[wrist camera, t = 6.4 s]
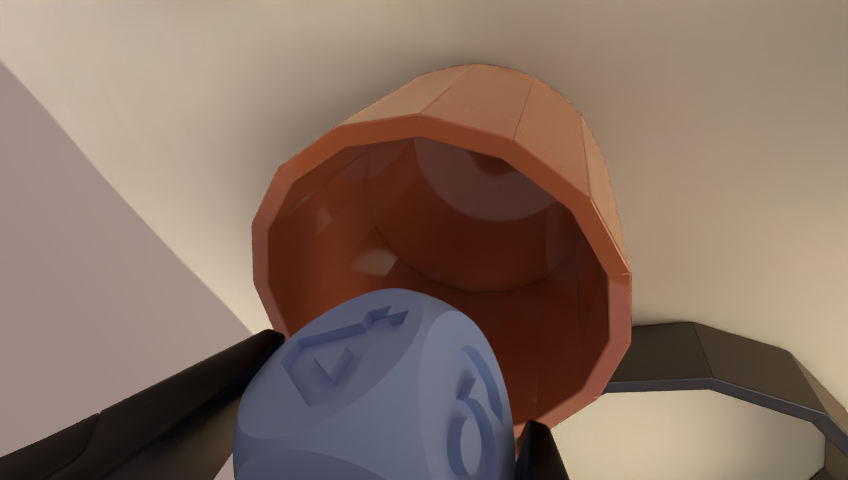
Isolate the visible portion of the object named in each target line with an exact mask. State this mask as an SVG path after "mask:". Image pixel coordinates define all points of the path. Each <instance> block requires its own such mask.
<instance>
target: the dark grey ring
mask: <svg viewBox="0 0 848 480" xmlns="http://www.w3.org/2000/svg"><path fill="white" fill-rule="evenodd" d="M704 389H710V390H713V391H716V392H719V393H722V394H725V395H728V396H731V397H734V398H738V399H741V400H744V401H747V402H750V403H753V404H756V405H759V406H762V407H766V408H769V409H772V410H775V411H778V412H781V413H784V414H787V415H790V416H794V417H797V418H800V419H803V420H806V421H809V422H812V423H813V424H814V425H815V426H816V427H817V428H818V429H819V430H820V431H821V432H822V433H823V434H824V435H825V436H826V455H825V468H823V469H822V470H821V471H820V472H819V473H818V474H817V475H815V476H814V477H813V478H812V479H811V480H848V413H847V411H846V410H845V408H844V407H843V406H842V405H841V404H840V403H839V402H838V401H837V400H836V399H835V398H834V397H833V396H832V395H831V394H830V393H829V392H828V391H827V390H826V389H825V388H824V387H823V386H822V385H821V384H820V383H819V382H818V381H817V380H816V379H815V378H814V377H813V376H812V375H811V374H810V373H809V371H808V370H807V369H806V368H805V367H804V366H803V365H802V364H801V363H800V362H799V361H798V360H797V359H796V358H795V357H794V356H793V355H792V354H791V353H790V352H788V351H786V350H782V349H779V348H776V347H772V346H769V345H766V344H763V343H759V342H756V341H753V340H749V339H746V338H743V337H739V336H736V335H733V334H730V333H726V332H723V331H720V330H716V329H713V328H710V327H707V326H703V325H700V324H697V323H693V322H692V323H691V322H687V323H675V324H663V325H651V326H640V327H632V329H631V343H630V346H629V348H628V349H627V351H626V353H625V355H624V356H623V358H622V360H621V361H620V363H619V365H618V366H617V368H616V370H615V371H614V373H613V375H612V376H611V378H610V380H609V382H608V383H607V385H606V387H605V388H604V390H603V392H602V393H601V395H603V394H605V393H618V392H647V391H676V390H704ZM601 395H600V396H601ZM518 439H519V437H515V447H516V444H517V441H518Z"/></svg>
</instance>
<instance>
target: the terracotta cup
mask: <svg viewBox="0 0 848 480" xmlns="http://www.w3.org/2000/svg"><path fill="white" fill-rule="evenodd" d="M252 255H253V281H254V285H255V287H256V290H257V292H258V294H259V297H260V299H261V301H262V304H263V306H264V308H265V310H266V313H267V315H268V317H269V320H270V322H271V324H272V327H273V329H274V331H277V332H280V333H282V334H284V335H285V342H286V341H287V340H288V339H289V338H290V337H292V336H293V335H294V334H295V333H297V332H298V331H299V330H300V329H302V328H303V327H304V326H306V325H307V324H309V323H310V322H311V321H313V320H314V319H316V318H317V317H319V316H321V315H322V314H324V313H326V312H327V311H329V310H331V309H332V308H334V307H336V306H338V305H340V304H342V303H344V302H346V301H348V300H351V299H353V298H355V297H358V296H361V295H363V294H366V293H370V292H373V291H377V290H383V289H391V288H399V289H406V290H411V291H416V292H419V293H423V294H427V295H429V296H432V297H434V298H437V299H439V300H442V301H444V302H445V303H447V304H449V305H451V306H453V307H454V308H456V309H458V310H459V311H460V312H462V313H463V314H465V315H466V316H467V317H469V318H470V319H471V320H472V321H473V322H474V323H475V324H476V325H477V326H478V327H479V329H480V330H481V332H482V333H483V335H484V336H485V338H486V339H487V341H488V343H489V345H490V347H491V349H492V351H493V353H494V355H495V357H496V360H497V362H498V365H499V368H500V371H501V373H502V377H503V380H504V383H505V387H506V390H507V395H508V399H509V404H510V408H511V414H512V421H513V428H514V438H515V437H520V435H521V433H522V430H523V428H524V426H525V424H526V422H527V421H528V420H534V421H537V422H540V423H543V424H546V425H547V426H548V427H549V429H551V428H553V427H554V426H556V425H557V424H559V423H561V422H562V421H564V420H565V419H567V418H568V417H570V416H572V415H573V414H575V413H576V412H578V411H579V410H581V409H583V408H584V407H586V406H587V405H589V404H590V403H592V402H594V401H595V400H597V399H598V397H600V395H601V393H602V392H603V390H604V388H605V387H606V385H607V383H608V382H609V380H610V378H611V376H612V375H613V373H614V371H615V370H616V368H617V366H618V365H619V363H620V361H621V360H622V358H623V356H624V355H625V353H626V351H627V349H628V348H629V346H630V343H631V329H632V273H631V269H630V264H629V260H628V256H627V252H626V248H625V243H624V239H623V235H622V231H621V227H620V222H619V218H618V214H617V210H616V206H615V201H614V197H613V193H612V189H611V185H610V180H609V176H608V172H607V168H606V164H605V160H604V158H603V156H602V154H601V152H600V150H599V148H598V146H597V143H596V141H595V139H594V136H593V134H592V132H591V130H590V129H589V127H588V125H587V124H586V122H585V121H584V119H583V117H582V115H581V114H580V113H579V112H578V111H577V110H576V109H575V108H574V107H573V105H572V104H571V103H570V102H568V101H567V100H566V99H565V98H564V97H563V96H562V95H561V94H560V93H558V92H557V91H556V90H554V89H553V88H551V87H550V86H548V85H547V84H545V83H544V82H542V81H540V80H538V79H536V78H534V77H532V76H530V75H528V74H526V73H523V72H520V71H516V70H513V69H510V68H506V67H500V66H494V65H484V64H468V65H459V66H452V67H448V68H444V69H441V70H437V71H434V72H429V73H424V74H422V75H420V76H418V77H417V78H415V79H413V80H412V81H410V82H408V83H407V84H405V85H403V86H402V87H400V88H398V89H397V90H395V91H393V92H392V93H390V94H388V95H387V96H385V97H383V98H382V99H380V100H378V101H377V102H375V103H373V104H372V105H370V106H368V107H367V108H365V109H363V110H362V111H360V112H358V113H357V114H355V115H353V116H352V117H350V118H348V119H347V120H345V121H343V122H342V123H340V124H338V125H337V126H335V127H333V128H332V129H331V130H329V131H328V132H326V133H325V134H324V135H322V136H321V137H319V138H318V139H317V140H315V141H314V142H312V143H311V144H310V145H308V146H307V147H306V148H304V149H303V150H301V151H300V152H299V153H297V154H296V155H294V156H293V157H292V158H290V159H289V160H287V161H286V162H285V163H283V164H282V165H280V167H279V168H278V169H277V171H276V173H275V175H274V177H273V179H272V181H271V183H270V186H269V188H268V190H267V192H266V194H265V196H264V198H263V200H262V203H261V205H260V207H259V209H258V211H257V213H256V215H255V218H254V220H253V222H252Z"/></svg>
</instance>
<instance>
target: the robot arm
mask: <svg viewBox="0 0 848 480" xmlns="http://www.w3.org/2000/svg"><path fill="white" fill-rule="evenodd" d="M284 343H285V335H284V334H282V333H280V332H277V331H274V330H271V329H266V330H263V331H261V332H259V333H257V334H255V335H253V336H251V337H249V338H247V339H245V340H244V341H241V342H239V343H237V344H235V345H233V346H231V347H229V348H227V349H225V350H223V351H222V352H219V353H217V354H215V355H213V356H211V357H209V358H207V359H205V360H203V361H201V362H199V363H197V364H195V365H193V366H191V367H189V368H187V369H185V370H183V371H181V372H179V373H177V374H175V375H173V376H171V377H169V378H167V379H165V380H163V381H161V382H159V383H157V384H155V385H153V386H151V387H149V388H147V389H145V390H143V391H141V392H139V393H137V394H135V395H133V396H131V397H129V398H126V399H124V400H123V401H121V402H118V403H116V404H114V405H112V406H110V407H109V408H106V409H104V410H102V411H101V412H100V414H99V413H96V414H94V415H92V416H90V417H88V418H86V419H84V420H82V421H80V422H78V423H76V424H74V425H72V426H70V427H68V428H66V429H63V430H61V431H59V432H57V433H55V434H53V435H51V436H48V437H47V438H44V439H42V440H40V441H38V442H35V443H33V444H31V445H29V446H26V447H24V448H21V449H19V450H17V451H14V452H12V453H10V454H8V455H5V456H3V457H0V480H214V478H215V477H216V475H217V474H218V473H219V471H220V470H221V468H222V467H223V465H224V464H225V462H226V461H227V460H228V458H229V457H230V455H231V454H232V453H233V438H234V429H235V422H236V417H237V413H238V409H239V404H240V401H241V399H242V396H243V394H244V392H245V390H246V388H247V387H248V385H249V383H250V382H251V380H252V379H253V377H254V376H255V375H256V373H257V372H258V371H259V370H260V368H261V367H262V366H263V365H264V363H265V362H266V361H267V360H268V359H269V357H270V356H271V355H272V354H273V353H274V352H275V351H276V350H277V349H278V348H279V347H280V346H281V345H283V344H284ZM515 457H516V461H515V471H514V480H570V479H569V477H568V474H567V472H566V469H565V467H564V464H563V462H562V459H561V457H560V454H559V451H558V449H557V446H556V444H555V441H554V439H553V436H552V434H551V431H550V429H549V427H548V426H547V425H546V424H543V423H540V422H537V421H534V420H528V421H527V422H526V424H525V426H524V428H523V430H522V433H521V435H520V437H519V439H518V441H517V444H516V447H515Z"/></svg>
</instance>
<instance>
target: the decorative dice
mask: <svg viewBox="0 0 848 480" xmlns="http://www.w3.org/2000/svg"><path fill="white" fill-rule="evenodd" d="M515 461H516V457H515V438H514V428H513V421H512V414H511V408H510V404H509V399H508V395H507V390H506V387H505V383H504V380H503V377H502V373H501V371H500V368H499V365H498V362H497V360H496V357H495V355H494V353H493V351H492V349H491V347H490V345H489V343H488V341H487V339H486V338H485V336H484V335H483V333H482V332H481V330H480V329H479V327H478V326H477V325H476V324H475V323H474V322H473V321H472V320H471V319H470V318H469V317H467V316H466V315H465V314H463V313H462V312H460V311H459V310H458V309H456V308H454V307H453V306H451V305H449V304H447V303H445V302H444V301H442V300H439V299H437V298H434V297H432V296H429V295H427V294H423V293H419V292H416V291H411V290H406V289H399V288H391V289H383V290H377V291H373V292H370V293H366V294H363V295H361V296H358V297H355V298H353V299H351V300H348V301H346V302H344V303H342V304H340V305H338V306H336V307H334V308H332V309H331V310H329V311H327V312H326V313H324V314H322V315H321V316H319V317H317V318H316V319H314V320H313V321H311V322H310V323H309V324H307V325H306V326H304V327H303V328H302V329H300V330H299V331H298V332H297V333H295V334H294V335H293V336H292V337H290V338H289V339H288V340H287V341H286V342H285V343H284V344H283V345H281V346H280V347H279V348H278V349H277V350H276V351H275V352H274V353H273V354H272V355H271V356H270V357H269V359H268V360H267V361H266V362H265V363H264V365H263V366H262V367H261V368H260V370H259V371H258V372H257V373H256V375H255V376H254V377H253V379H252V380H251V382H250V383H249V385H248V387H247V388H246V390H245V392H244V394H243V396H242V399H241V401H240V404H239V409H238V413H237V417H236V422H235V429H234V438H233V468H234V478H235V480H514V471H515Z"/></svg>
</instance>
